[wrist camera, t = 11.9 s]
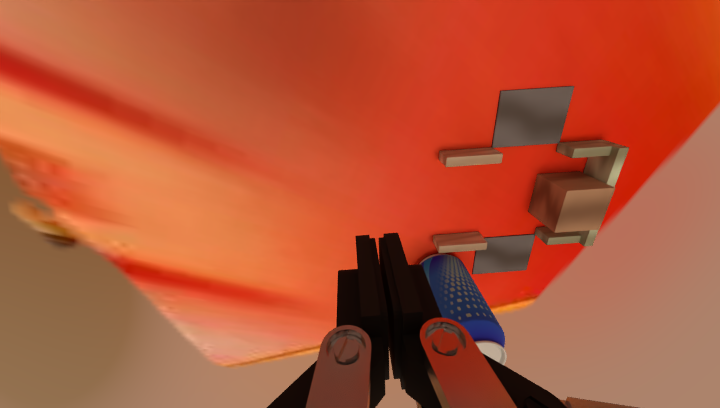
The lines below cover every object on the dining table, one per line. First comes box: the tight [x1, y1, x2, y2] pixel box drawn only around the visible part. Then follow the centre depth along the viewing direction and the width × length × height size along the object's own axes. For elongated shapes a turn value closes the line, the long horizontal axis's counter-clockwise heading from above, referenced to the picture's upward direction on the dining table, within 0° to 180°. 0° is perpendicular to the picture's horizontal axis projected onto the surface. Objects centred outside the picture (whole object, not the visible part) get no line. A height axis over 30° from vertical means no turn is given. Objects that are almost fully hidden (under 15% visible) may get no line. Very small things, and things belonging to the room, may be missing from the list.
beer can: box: [420, 254, 507, 365], centre depth 39 cm, size 8×8×16 cm
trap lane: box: [433, 86, 629, 274], centre depth 39 cm, size 28×22×4 cm
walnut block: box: [528, 171, 615, 233], centre depth 39 cm, size 6×6×6 cm
